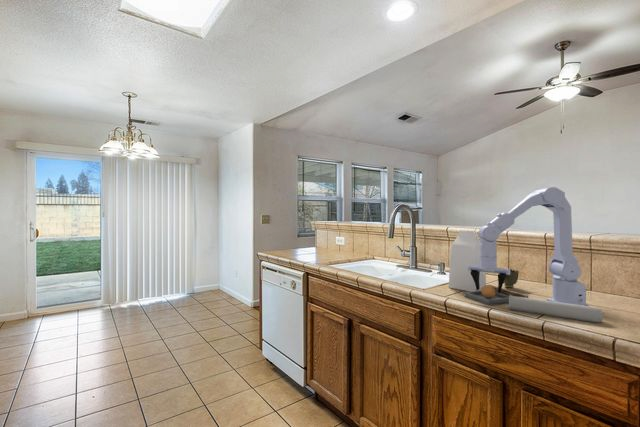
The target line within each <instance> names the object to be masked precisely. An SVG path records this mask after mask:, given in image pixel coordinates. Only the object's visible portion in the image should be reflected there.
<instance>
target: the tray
mask: <svg viewBox="0 0 640 427" xmlns="http://www.w3.org/2000/svg"><path fill="white" fill-rule="evenodd" d="M464 297H465V298H468V299H470V300H472V301H476V302H477V303H482V304H484V305H487V306H495V305H502V304H509V296H507V295H504V294H500V293H497V292H496V294H495V296H494V297H492V298H486V297H485V296H483V294H482V292H481V290H480V291H474V292H471V291H466V292H464Z"/></svg>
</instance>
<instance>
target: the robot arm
mask: <svg viewBox="0 0 640 427" xmlns="http://www.w3.org/2000/svg"><path fill="white" fill-rule="evenodd" d="M565 194H566V193H565V191H563V190H561V189H560V188H558V187H556V186H552V187H547V188H538V189H535V190H534V191H533V192H531V193H529V194H528V195H527V196H526V197H525V198H523V199H522V200H521V201H519V203H518V204H516V205H515V206H514V207H513V208H511V209H510V210H509V211H508V212H501V213H497V214H496V217H495V218H494V219H492V220H491V221H488V222H486V224H487V225H482V226H481V227H480V228H479V230H478V232H477V237H478V238H479V240H480V266H473V265H469V266H468V271H471V272H470V274H471V276H472V277H473V280H474V282H475V285H476V290H479V287H480V286H479V275H480V272H486V273H489V274H490V273H491V274H497V282H498V284H497V287H498V293H501V289H503V285H504V280H505V278H506V277H507V275H510V269H511V268H503V267H497V266H498V257H497V255H498V254H497V249H498V248H497V246H498V245H497V240H499V237H500V234H502V233H504V232H505V231H506V230H508V229H509V228H510V227H512V225H514V224H515V220H516V218H518V217H519V216H521V215H523V214H524V213H525V212H527V211H528V210H530V209H531V208H532V207H536V206H540V207H544V208H546V209H548V210H550V211H551V212H552V213H553V240H554V241H553V242H554V244H553V245H554V246H553V247H554V253H553V254H551V256H550V263H548V264H549V265H548V270H549V272H550V273H551V274H552V298H551V297H550V298H549V297H548V298H546V300H547V301H554V302H561V303H569V304H576V305H584V306H588V303H587V288H586V284H584V283H583V282H581V281H578V279H579V278H580V277H581V274H582V269H581V268H582V267H580V265H579V259H578V258H577V257H576V256H575V255H574V252H573V227H572V226H573V225H572V223H573V220H572V206H571V204H570V202H569V201H568V199H567V198H566V195H565Z"/></svg>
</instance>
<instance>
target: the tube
mask: <svg viewBox="0 0 640 427" xmlns="http://www.w3.org/2000/svg"><path fill="white" fill-rule="evenodd" d="M508 311H516V312H524V313H530V314H537V315H541V316H542V315H544V316H550V317H557V318H562V317H563V319H569V320H576V321H583V322H589V323H596V324H597V323H602V322H603V318H604V314H603V310H602V309H601V308H598V307H596V306H590V305H576V304H569V303H561V302H554V301H549V300H547V299H538V298H530V297H528V298H524V297H517V296H512V295H509V303H508Z"/></svg>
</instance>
